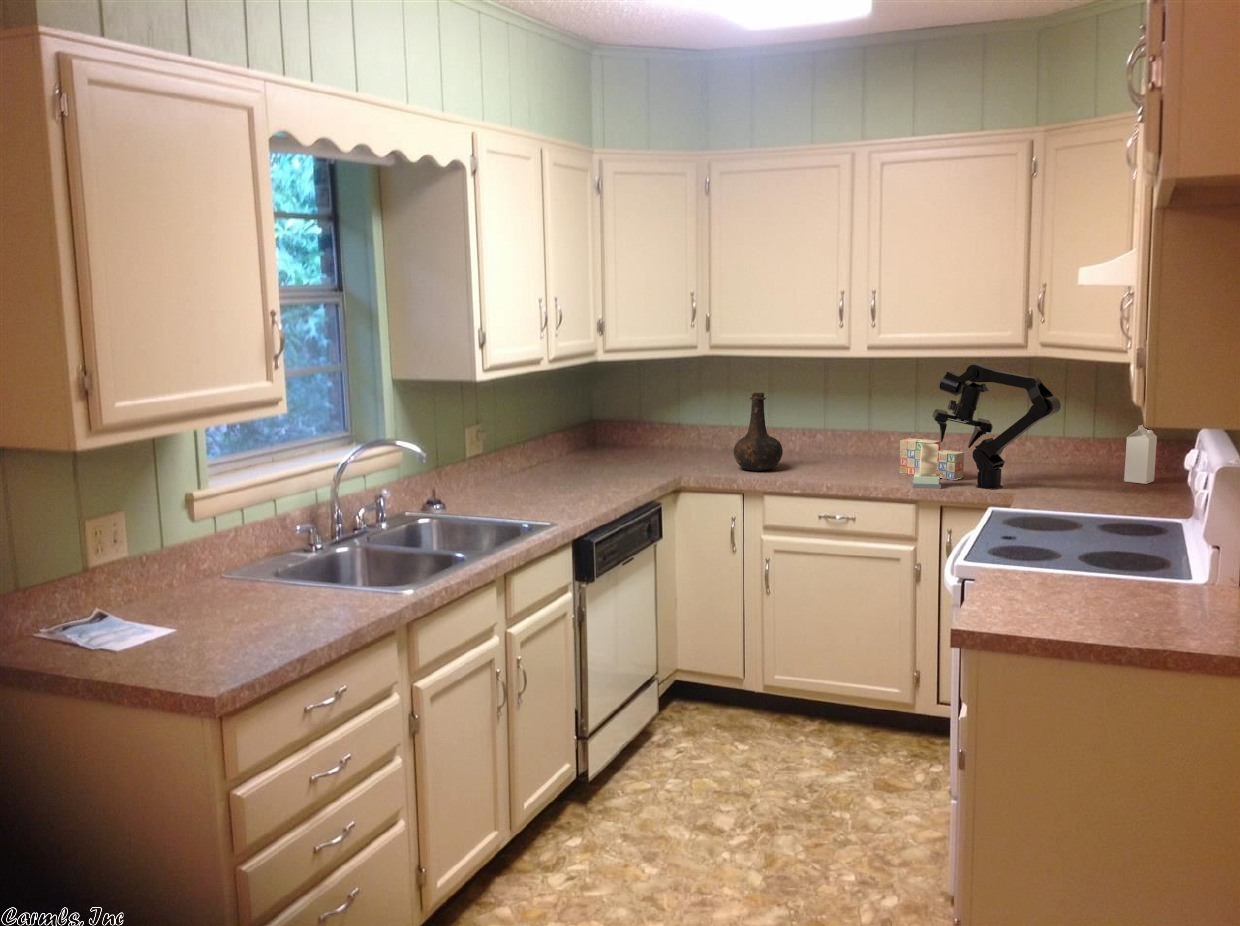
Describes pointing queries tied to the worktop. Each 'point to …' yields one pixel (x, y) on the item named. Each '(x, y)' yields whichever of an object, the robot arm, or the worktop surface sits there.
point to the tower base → (926, 485)
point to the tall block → (928, 459)
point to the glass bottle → (758, 441)
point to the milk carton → (1140, 456)
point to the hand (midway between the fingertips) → (954, 444)
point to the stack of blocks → (947, 460)
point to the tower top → (926, 479)
